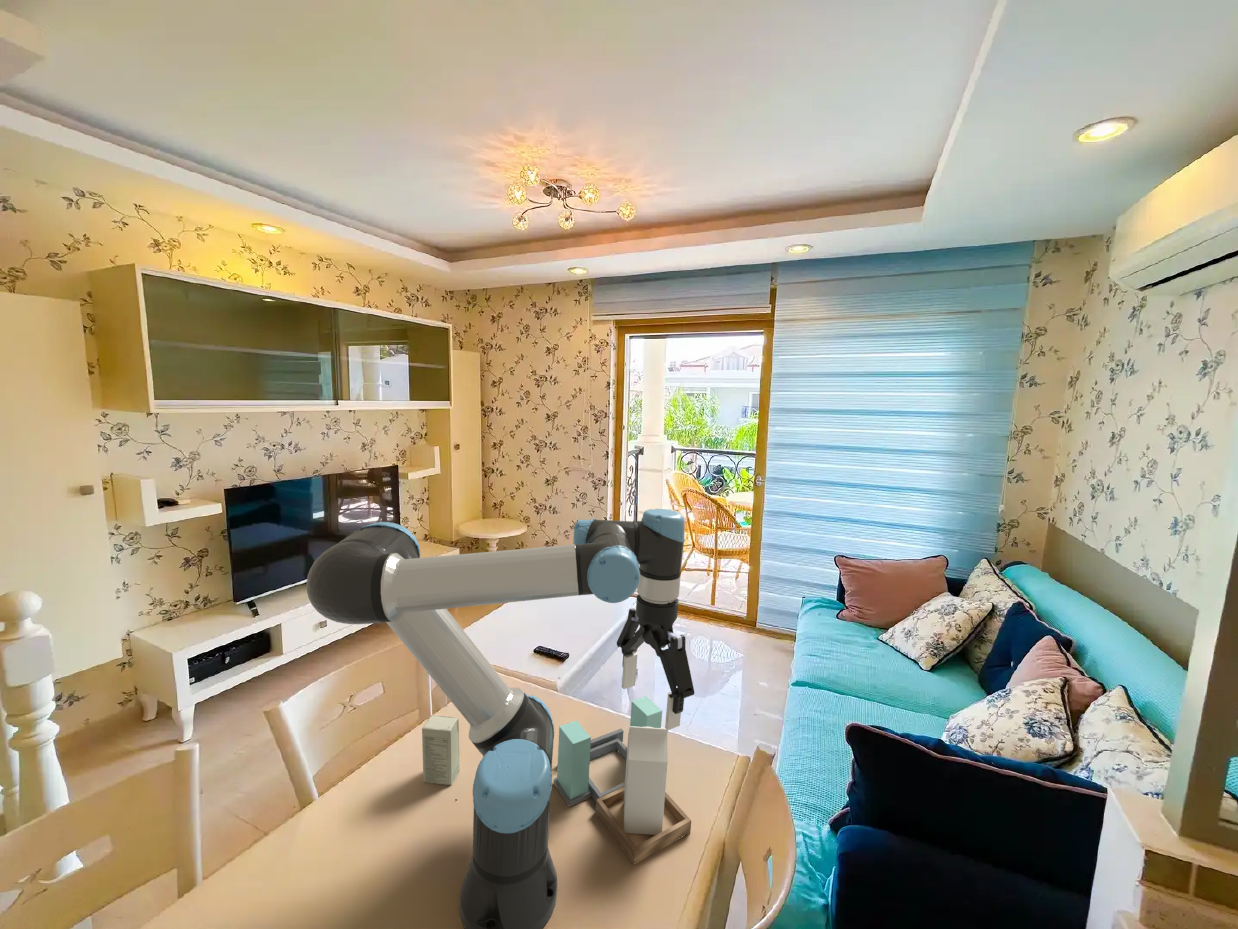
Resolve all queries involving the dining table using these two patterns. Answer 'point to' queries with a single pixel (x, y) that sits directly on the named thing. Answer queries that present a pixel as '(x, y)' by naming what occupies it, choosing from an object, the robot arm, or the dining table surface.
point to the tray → (641, 844)
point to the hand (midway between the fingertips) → (649, 705)
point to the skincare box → (440, 750)
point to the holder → (594, 752)
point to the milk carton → (645, 780)
